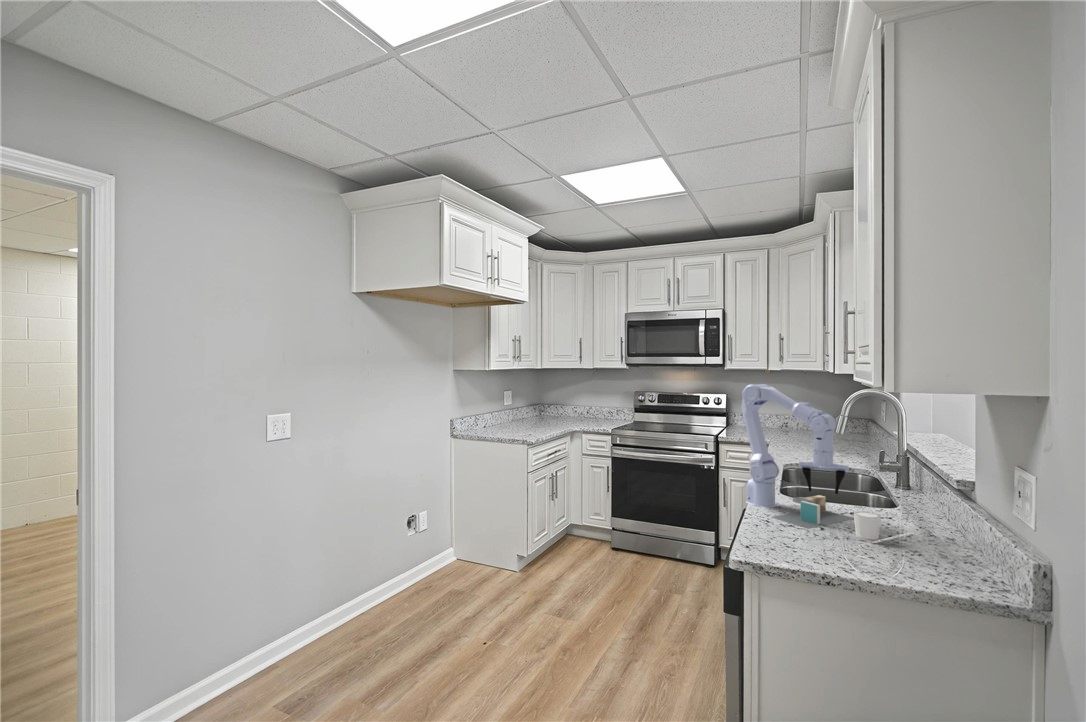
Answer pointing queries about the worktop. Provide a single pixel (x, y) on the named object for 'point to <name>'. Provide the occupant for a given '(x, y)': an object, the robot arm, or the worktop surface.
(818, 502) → the turner
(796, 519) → the mat
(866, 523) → the white cup
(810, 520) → the tile
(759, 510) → the worktop surface
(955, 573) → the worktop surface
